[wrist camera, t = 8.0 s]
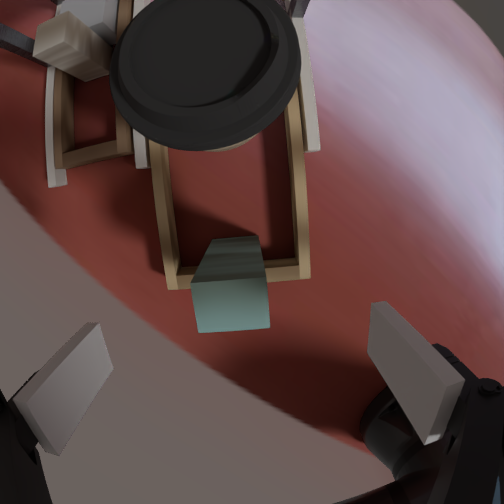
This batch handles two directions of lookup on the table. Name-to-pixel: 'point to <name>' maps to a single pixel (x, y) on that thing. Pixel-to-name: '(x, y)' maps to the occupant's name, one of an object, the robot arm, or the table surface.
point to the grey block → (96, 16)
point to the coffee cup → (205, 71)
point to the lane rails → (142, 143)
